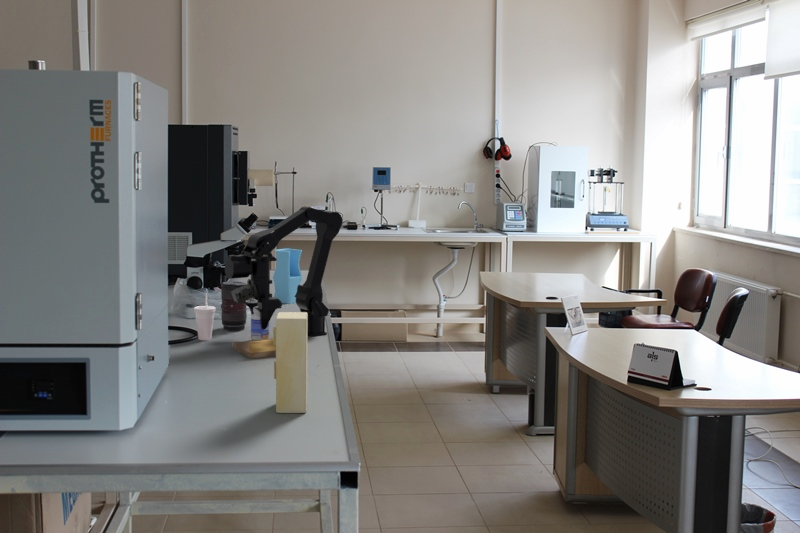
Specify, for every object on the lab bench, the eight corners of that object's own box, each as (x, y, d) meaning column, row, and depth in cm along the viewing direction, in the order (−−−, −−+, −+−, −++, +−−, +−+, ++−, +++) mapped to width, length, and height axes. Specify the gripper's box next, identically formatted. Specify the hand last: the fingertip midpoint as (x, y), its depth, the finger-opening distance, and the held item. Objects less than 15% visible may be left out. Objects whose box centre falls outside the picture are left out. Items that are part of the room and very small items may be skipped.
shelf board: (280, 342, 239) (280, 327, 238) (300, 352, 227) (300, 337, 226) (232, 347, 231) (232, 332, 230) (250, 358, 219) (250, 342, 218)
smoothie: (210, 342, 237) (210, 295, 235) (190, 340, 238) (189, 294, 236) (219, 337, 243) (219, 292, 241) (199, 336, 244) (199, 291, 242)
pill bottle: (265, 341, 237) (265, 309, 236) (248, 340, 238) (248, 308, 237) (271, 337, 242) (271, 306, 241) (254, 336, 244) (255, 305, 242)
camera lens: (244, 332, 252) (244, 285, 250) (218, 331, 252) (218, 284, 250) (249, 326, 260) (249, 281, 258) (224, 325, 260) (224, 280, 258)
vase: (288, 304, 302) (288, 251, 299) (272, 301, 306) (273, 249, 304) (301, 301, 309) (302, 250, 306) (286, 298, 313) (286, 248, 310)
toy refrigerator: (274, 402, 180) (275, 311, 178) (307, 402, 181) (308, 311, 178) (271, 413, 172) (272, 318, 170) (306, 413, 173) (307, 318, 170)
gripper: (223, 273, 241) (223, 324, 243) (246, 282, 226) (246, 336, 228) (257, 271, 247) (257, 321, 249) (282, 280, 232) (282, 332, 234)
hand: (260, 327), depth 240 cm, fingers closed on pill bottle, 5 cm apart
